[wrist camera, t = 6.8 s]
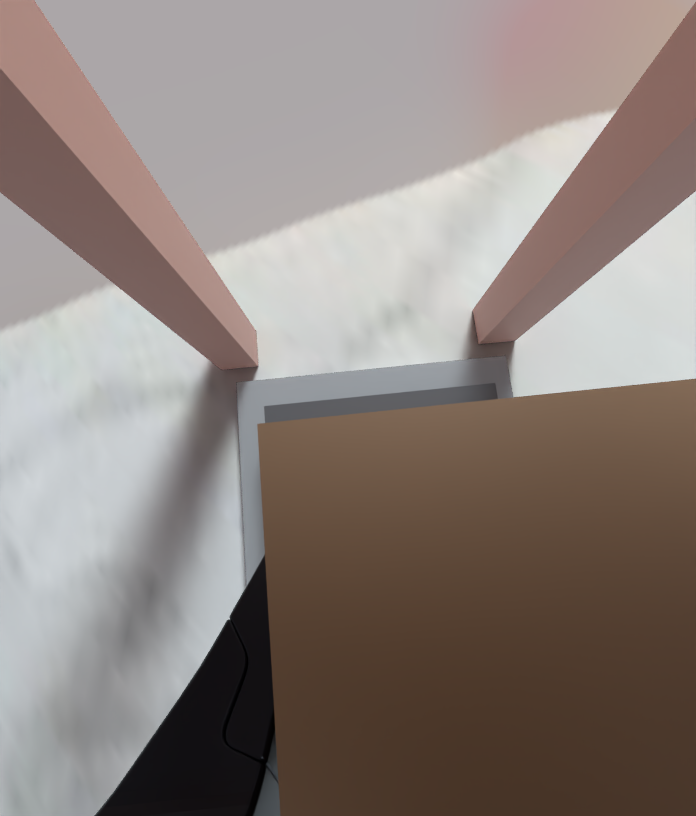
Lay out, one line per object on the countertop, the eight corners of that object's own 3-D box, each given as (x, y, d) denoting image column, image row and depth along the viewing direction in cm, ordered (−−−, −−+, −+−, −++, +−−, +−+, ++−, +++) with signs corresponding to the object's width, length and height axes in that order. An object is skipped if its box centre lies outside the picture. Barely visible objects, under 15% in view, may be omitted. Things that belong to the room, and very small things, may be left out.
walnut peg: (455, 567, 15) (979, 1029, 2) (344, 579, 15) (297, 1107, 2) (439, 455, 16) (773, 371, 3) (333, 466, 16) (256, 424, 3)
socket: (549, 642, 18) (601, 686, 14) (255, 673, 18) (230, 725, 14) (499, 360, 20) (532, 334, 17) (240, 386, 20) (215, 366, 17)
